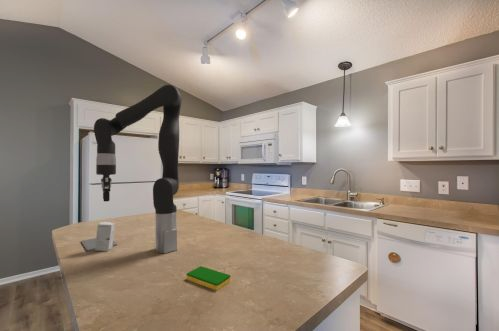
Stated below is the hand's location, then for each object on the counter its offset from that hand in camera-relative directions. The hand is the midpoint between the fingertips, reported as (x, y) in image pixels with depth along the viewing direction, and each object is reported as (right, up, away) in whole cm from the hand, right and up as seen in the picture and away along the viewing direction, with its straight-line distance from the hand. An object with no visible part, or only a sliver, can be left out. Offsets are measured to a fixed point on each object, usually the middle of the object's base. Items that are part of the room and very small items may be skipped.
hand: (106, 200), depth 104 cm
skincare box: (-3, -23, +4) cm, 24 cm away
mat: (-11, -24, +12) cm, 29 cm away
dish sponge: (+50, -24, -26) cm, 61 cm away
